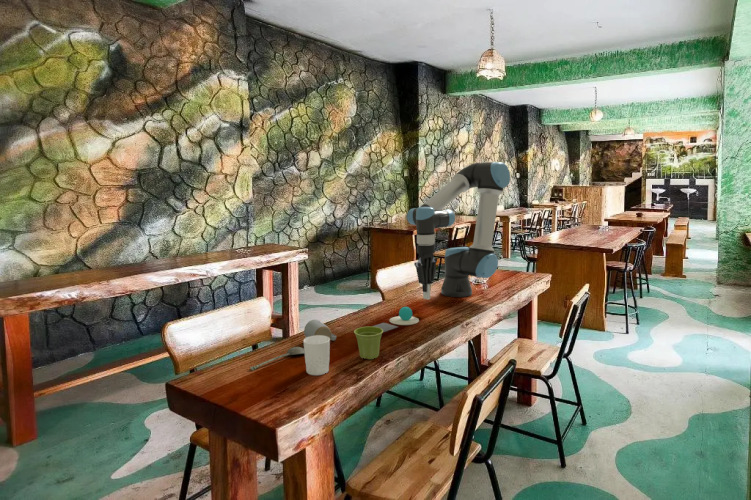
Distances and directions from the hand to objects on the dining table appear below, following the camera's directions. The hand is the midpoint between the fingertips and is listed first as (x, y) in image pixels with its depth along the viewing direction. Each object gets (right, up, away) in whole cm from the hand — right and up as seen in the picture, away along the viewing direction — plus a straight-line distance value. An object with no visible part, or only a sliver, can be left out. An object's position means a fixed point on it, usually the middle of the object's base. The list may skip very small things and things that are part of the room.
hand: (426, 298), depth 203 cm
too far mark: (-19, -9, -18) cm, 27 cm away
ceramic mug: (-41, -12, -33) cm, 54 cm away
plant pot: (-24, -14, -47) cm, 55 cm away
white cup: (-39, -16, -58) cm, 72 cm away
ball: (-10, -5, -9) cm, 14 cm away
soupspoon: (-53, -16, -49) cm, 73 cm away
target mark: (-10, -8, -9) cm, 16 cm away
